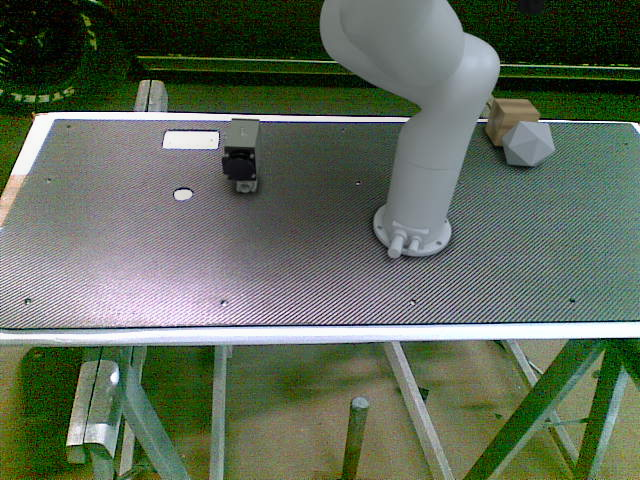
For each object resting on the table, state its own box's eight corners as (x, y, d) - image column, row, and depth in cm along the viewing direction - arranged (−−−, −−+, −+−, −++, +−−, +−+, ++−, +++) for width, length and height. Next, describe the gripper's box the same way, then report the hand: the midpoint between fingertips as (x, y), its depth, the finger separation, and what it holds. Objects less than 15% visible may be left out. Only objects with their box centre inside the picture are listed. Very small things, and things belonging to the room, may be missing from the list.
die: (530, 186, 89) (574, 145, 85) (496, 159, 87) (538, 115, 83) (517, 169, 97) (557, 130, 92) (485, 143, 95) (524, 102, 90)
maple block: (529, 146, 95) (540, 114, 91) (494, 146, 95) (504, 113, 91) (517, 131, 101) (527, 99, 96) (484, 130, 100) (493, 98, 96)
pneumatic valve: (263, 166, 88) (260, 108, 80) (257, 208, 80) (252, 148, 71) (233, 165, 88) (227, 107, 80) (224, 207, 80) (216, 147, 71)
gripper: (530, -160, 61) (489, -7, 74) (575, -144, 51) (517, 31, 64) (587, -157, 62) (536, -5, 75) (644, -140, 51) (572, 33, 64)
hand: (528, 11), depth 69 cm, fingers closed
